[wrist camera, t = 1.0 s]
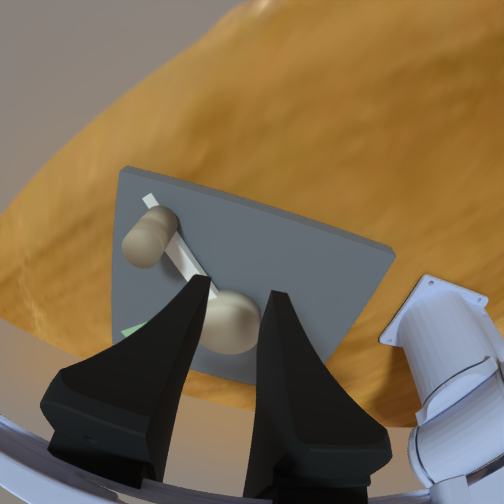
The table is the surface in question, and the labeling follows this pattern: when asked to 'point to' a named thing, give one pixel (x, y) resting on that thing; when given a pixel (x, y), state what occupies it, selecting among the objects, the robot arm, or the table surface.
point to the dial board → (243, 264)
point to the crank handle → (219, 301)
